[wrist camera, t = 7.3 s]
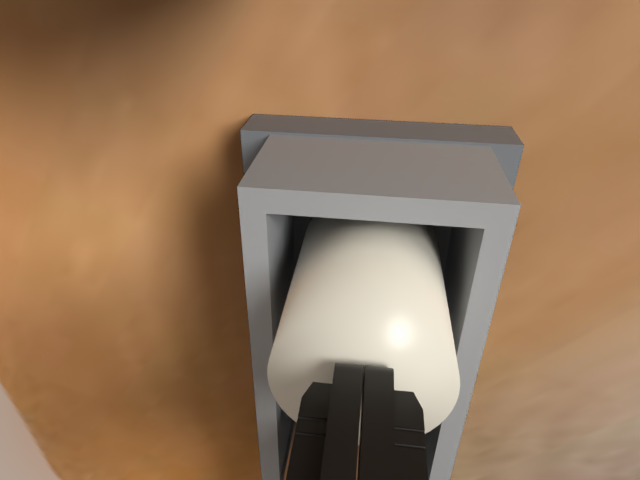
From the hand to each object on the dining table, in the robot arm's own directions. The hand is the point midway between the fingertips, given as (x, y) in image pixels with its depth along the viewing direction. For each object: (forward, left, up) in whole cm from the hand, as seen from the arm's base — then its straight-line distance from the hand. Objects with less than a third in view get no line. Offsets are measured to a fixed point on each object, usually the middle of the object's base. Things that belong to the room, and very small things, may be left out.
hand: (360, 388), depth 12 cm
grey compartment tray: (0, +7, -10) cm, 12 cm away
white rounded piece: (0, 0, -7) cm, 7 cm away
